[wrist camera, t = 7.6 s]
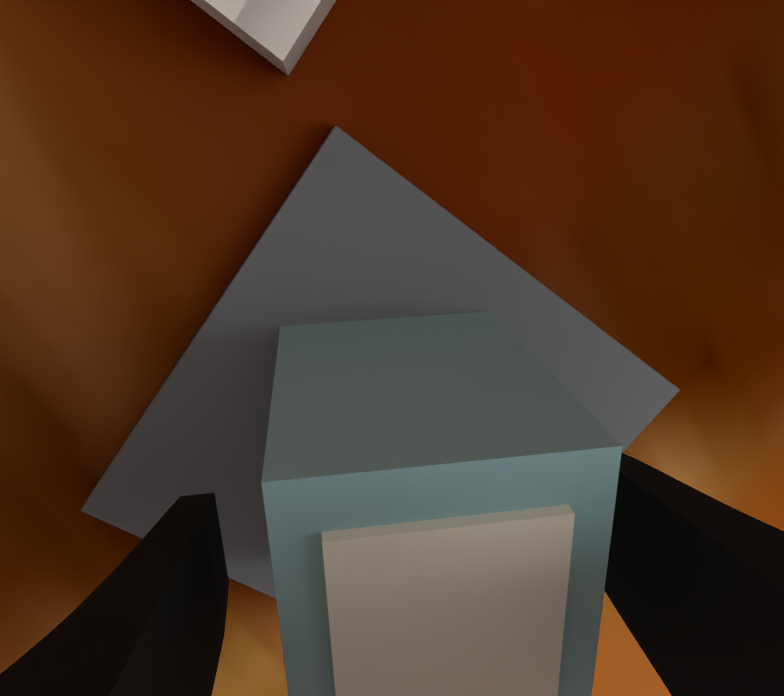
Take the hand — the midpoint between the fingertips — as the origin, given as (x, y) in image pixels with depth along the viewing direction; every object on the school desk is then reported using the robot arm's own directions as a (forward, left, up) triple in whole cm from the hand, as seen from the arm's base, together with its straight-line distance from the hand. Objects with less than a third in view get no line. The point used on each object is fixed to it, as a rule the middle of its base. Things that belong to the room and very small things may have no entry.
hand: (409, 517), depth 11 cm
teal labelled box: (0, 0, -3) cm, 3 cm away
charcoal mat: (0, 0, -3) cm, 3 cm away
